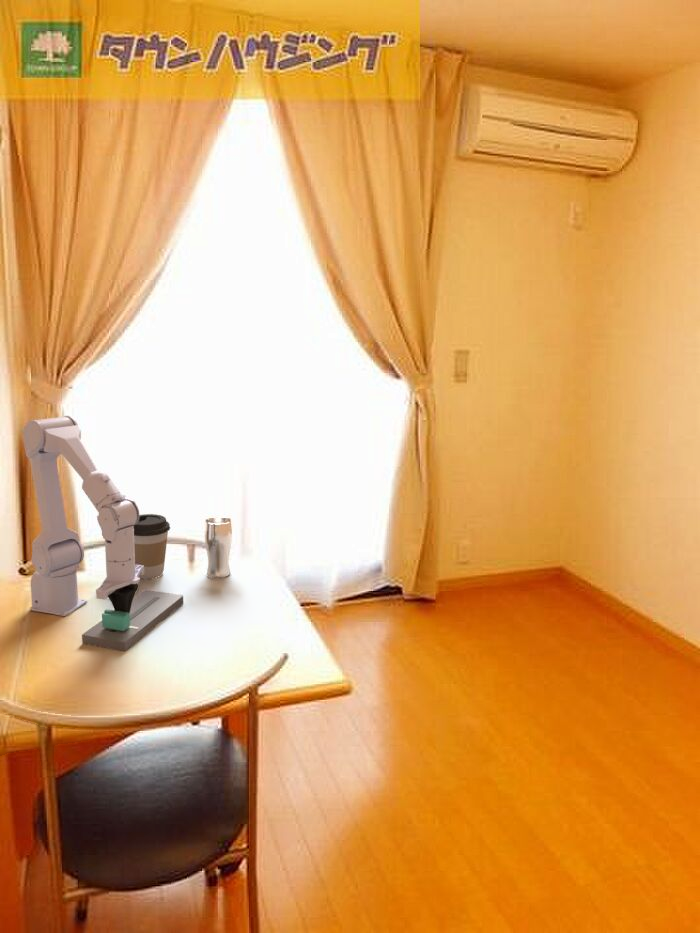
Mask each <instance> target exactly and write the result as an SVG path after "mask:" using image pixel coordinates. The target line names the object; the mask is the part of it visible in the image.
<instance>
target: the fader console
mask: <svg viewBox="0 0 700 933" xmlns="http://www.w3.org/2000/svg"><path fill="white" fill-rule="evenodd" d="M182 605H184V595H183V594H176V593H170V592H163V591H159V590H158V591H157V590H150V589H144V590H143V591H142V592H140V593H138V594H137V595H136V596H134V598H133V601H132V604H131V609H130V626H129V627H128V628H127V629H126V630H124V631H120V630H115V629H109V628H103V627H102V620H100V621H99V622H98V623H97V624H94V625H93V626H92V627H90V628H89V629H88V630H86V631H85V632H83V633H82V634H81V643H85V644H84V645H88V644H90V645H89V646H94V645H96V646H95V647H99V646H101V647H100V648H105V649H112V650H118V651H122V652H127V650H129V649H130V648H131V647H133V645H135V644H136V643H137V642H138V641H139V640H140V639H141V640H142V638H143V637H144V636H145V635H147V634H148V633H149V632H151V630H153V629H154V628H156V626H158V625H159V624H160V623H161V622H162V621H164V620H166V618H167V617H169V616H170V615H171V614H172V613H173V612H175V611H176V610H177V609H178V608H180V607H181V606H182Z"/></svg>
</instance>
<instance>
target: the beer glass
mask: <svg viewBox="0 0 700 933" xmlns="http://www.w3.org/2000/svg"><path fill="white" fill-rule="evenodd" d="M204 521H205V522H204V523H205V524H204V544H205V549H206V550H205V551H206V553H207V554H206V555H207V559H208V560H207V562H208V563H207V564H208V565H207V569H206V570H207V571H206V576H207V575H208V576H210V577H212V578H211V579H217V578H218V579H223V578H222V577H225V578H227V577H226V576H228V575H229V574H230V575H231V569H230V563H229V562H230V561H229V560H230V554H231V553H230V552H231V549H232V542H233V541H232V540H233V538H232V537H233V533H232V532H233V530H232V529H233V527H232V519H231V518H230V517H227V516H222V515H221V516H211V517H207V518H206V519H205V520H204ZM230 575H229V576H230ZM208 576H207V577H208ZM229 576H228V577H229ZM210 577H209V578H210Z"/></svg>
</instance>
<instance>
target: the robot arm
mask: <svg viewBox="0 0 700 933" xmlns="http://www.w3.org/2000/svg"><path fill="white" fill-rule="evenodd" d="M21 434H22V440H23V446H24V450H25V452H24V453H25V456H26V458H27V459H29V465H30V469H31V474H32V479H33V480H32V481H33V487H34V492H35V497H36V498H35V499H36V503H37V510H38V515H39V521H40V526H41V527H40V528H41V532H40V533H39V534H38V535H37V536H36V537H35V538H34V540H33V541H32V542H31V548H32V550H31V551H32V555H31V563H32V566H33V568H34V570H35V571H34V573H32V575H31V580H30V593H31V595H30V596H31V605H32V606H31V607H29V611H31V612H32V611H33V612H38V613H45V614H51V615H56V616H61V617H62V616H63V617H65V616H67V615H69V614H71V613H73V611H75V610H77V609H78V608H80V607H82V606H83V605H86V603H87V600H86V599H82V598H79V594H78V592H79V591H78V574H77V569H79V568H80V564H81V563H82V562H83V561H84V559H85V558H84V557H85V549H84V546H83V543H81V541H80V536H79V533H78V532H77V531H75V530H73V529H71V528H69V526H68V523H67V518H66V512H65V504H64V501H63V500H64V499H63V494H62V487H61V481H60V476H59V470H58V469H59V468H58V465H57V464H58V463H57V459H58V458H59V456H60V455H62V456H63V457H64V459H65V460H66V461H67V463H68V464H70V466H71V468H73V470H74V471H75V472H76V473H77V474H78V475H79V477H80V478H81V479H82V480H83V481H82V483H81V484H82V486H81V489H82V491H83V492H84V494H85V495H86V497H87V498H88V499H89V501H90V502H91V503H92V505H93V506H94V508H95V510H96V511H97V513H98V515H97V516H96V519H97V523H98V525H99V527H100V530H101V536H102V539H104V547H105V548H104V549H105V550H104V552H105V569H106V572H105V573H106V577H105V578H104V579H103V582H102V583H101V584H100V586H99V587H98V588H97V589H95V594H96V595H95V597H96V598H95V599H98V600H103V601H104V600H107V599H109V601H110V602H111V604H112V607H113V608H114V609H113V610H115V611H121V612H127V613H130V609H131V604H132V601H133V598H134V597H135V595H136V593H137V591H138V589H139V583H140V581H141V579H140V578H138V576H139V575H143V574H144V566H143V565H135V551H134V526H133V525H135V524H137V522H138V521H139V516H140V515H141V514H140V510H139V507H138V505H137V503H136V501H135V500H134V499H131V498H130V497H127V496H126V495H124V494H122V492H120V491H119V489H118V488H117V486H116V485H115V483H114V482H113V480H112V479H111V478H110V476H109V475H108V473H106V472H103V471H99V469H98V468H97V467H96V465H95V463H94V462H93V459H92V458H91V456H90V454H89V453H88V450H87V449H86V448H85V446H84V444H83V443H82V441H81V438H82V429H81V428H80V426H79V424H78V422H77V420H75V418H74V417H72V416H70V415H64V416H59V417H57V416H56V417H51V418H42V419H29V420H28V421H27V422H26V423H25V425H24V426H23V428H22V430H21Z"/></svg>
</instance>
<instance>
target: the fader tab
mask: <svg viewBox="0 0 700 933" xmlns="http://www.w3.org/2000/svg"><path fill="white" fill-rule="evenodd" d="M101 621H102V627H103V628H109V629H115V630H120V631H124V630H126V629H127V628H128V627H129V626H130V613H127V612H121V611H115V610H114V609H105V610H104V612H102V613H101Z"/></svg>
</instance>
